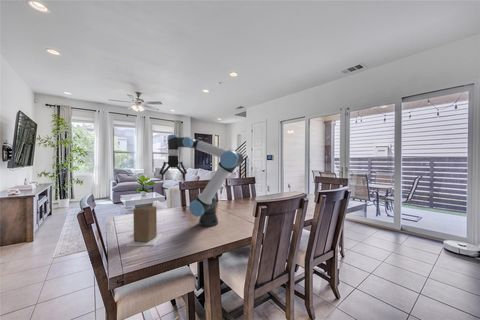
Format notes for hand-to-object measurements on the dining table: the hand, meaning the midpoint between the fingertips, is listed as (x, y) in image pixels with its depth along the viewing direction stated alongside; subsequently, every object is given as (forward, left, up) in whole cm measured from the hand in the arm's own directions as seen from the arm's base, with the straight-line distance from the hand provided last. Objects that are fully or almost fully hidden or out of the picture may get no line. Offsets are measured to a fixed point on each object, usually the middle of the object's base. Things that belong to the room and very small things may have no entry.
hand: (173, 183), depth 155 cm
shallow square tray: (+11, +26, -33) cm, 43 cm away
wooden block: (+11, +26, -32) cm, 43 cm away
